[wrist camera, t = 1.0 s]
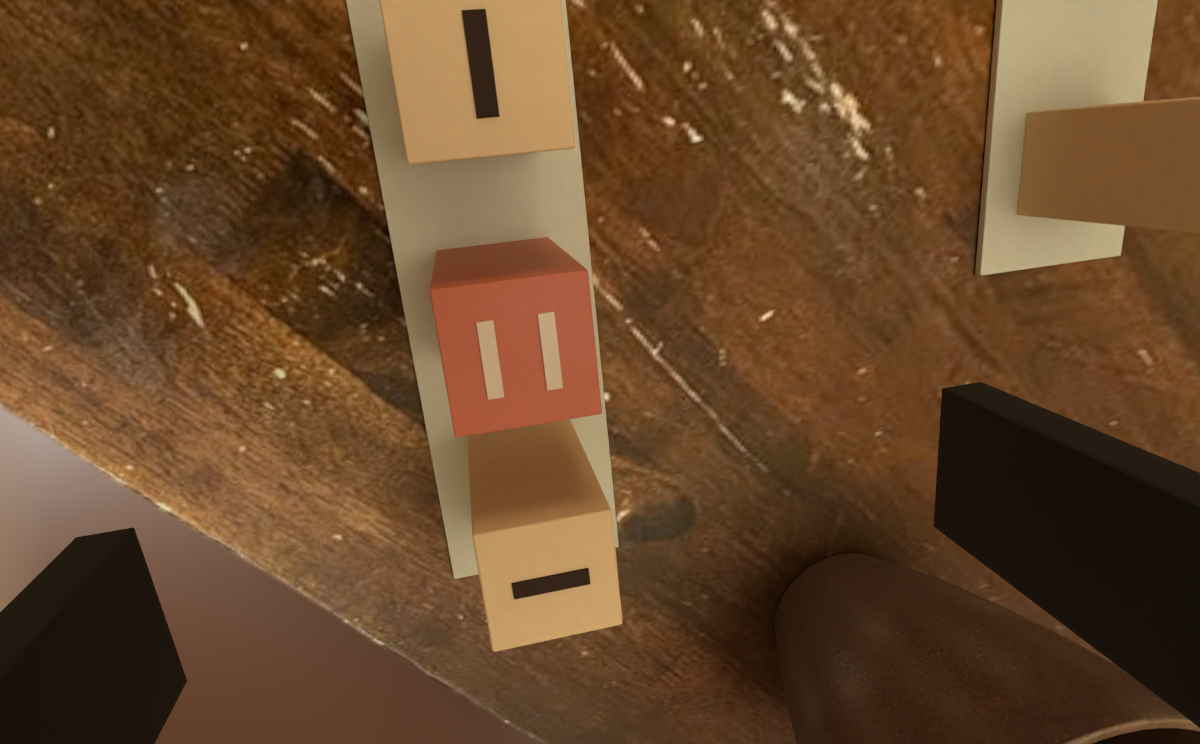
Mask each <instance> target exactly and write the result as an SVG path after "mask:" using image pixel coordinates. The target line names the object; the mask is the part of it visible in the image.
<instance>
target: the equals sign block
mask: <svg viewBox="0 0 1200 744" xmlns="http://www.w3.org/2000/svg"><path fill="white" fill-rule="evenodd" d="M430 297H431V302H432V308H433V314H434V320H435V325H436V331H437V337H438V343H439V348H440V354H441V360H442V366H443V372H444V377H445V383H446V389H447V395H448V400H449V406H450V412H451V418H452V423H453V429H454V435H455V437H456V438H458V437H464V436H470V435H476V434H482V433H488V432H495V431H501V430H507V429H513V428H519V427H525V426H531V425H537V424H543V423H550V422H556V421H562V420H568V419H574V418H580V417H586V416H592V415H598V414H602V407H601V396H600V386H599V376H598V366H597V356H596V346H595V336H594V326H593V316H592V306H591V296H590V286H589V276H588V270H587V269H586V268H585V267H583V266H582V265H581V264H580V263H579V262H577V261H576V260H575V259H574V258H573V257H571V256H570V255H569V254H568V253H566V252H565V251H564V250H563V249H562V248H560V247H559V246H558V245H557V244H556V243H554V242H553V241H552V240H551V239H550V238H548V237H544V238H536V239H527V240H519V241H511V242H502V243H494V244H485V245H477V246H469V247H460V248H452V249H443V250H437V252H436V257H435V263H434V269H433V275H432V280H431V286H430Z"/></svg>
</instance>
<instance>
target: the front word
mask: <svg viewBox="0 0 1200 744" xmlns="http://www.w3.org/2000/svg"><path fill="white" fill-rule="evenodd" d="M346 4H347V10H348V15H349V20H350V26H351V31H352V36H353V42H354V47H355V52H356V58H357V63H358V68H359V74H360V79H361V84H362V90H363V95H364V100H365V106H366V111H367V116H368V122H369V127H370V132H371V138H372V143H373V148H374V154H375V159H376V164H377V170H378V175H379V180H380V186H381V191H382V196H383V202H384V207H385V212H386V218H387V223H388V228H389V234H390V239H391V244H392V250H393V255H394V260H395V266H396V271H397V277H398V282H399V287H400V293H401V298H402V303H403V309H404V314H405V319H406V325H407V330H408V335H409V341H410V346H411V351H412V357H413V362H414V367H415V373H416V378H417V383H418V389H419V394H420V399H421V405H422V410H423V415H424V421H425V426H426V431H427V437H428V442H429V447H430V453H431V458H432V463H433V469H434V474H435V479H436V485H437V490H438V495H439V501H440V506H441V511H442V517H443V522H444V527H445V533H446V538H447V544H448V549H449V554H450V560H451V565H452V570H453V576H454V579H457V578H462V577H467V576H472V575H477V574H479V578H480V584H481V590H482V596H483V601H484V607H485V613H486V619H487V624H488V630H489V636H490V642H491V647H492V650H493V652H496V651H501V650H505V649H510V648H515V647H519V646H524V645H529V644H533V643H538V642H543V641H547V640H552V639H556V638H561V637H566V636H570V635H575V634H580V633H584V632H589V631H594V630H598V629H603V628H607V627H612V626H617V625H621V624H622V622H623V620H622V610H621V600H620V590H619V580H618V570H617V560H616V550H615V547H618V546H619V544H618V534H617V523H616V513H615V503H614V493H613V482H612V472H611V462H610V451H609V441H608V431H607V421H606V410H605V400H604V390H603V380H602V369H601V359H600V349H599V339H598V328H597V318H596V308H595V298H594V287H593V277H592V267H591V256H590V246H589V236H588V226H587V215H586V205H585V195H584V185H583V174H582V164H581V154H580V144H579V133H578V123H577V113H576V103H575V92H574V82H573V72H572V61H571V51H570V41H569V31H568V20H567V10H566V0H346ZM544 237H548V238H550V239H551V240H552V241H553V242H554V243H556V244H557V245H558V246H559V247H560V248H562V249H563V250H564V251H565V252H566V253H568V254H569V255H570V256H571V257H573V258H574V259H575V260H576V261H577V262H579V263H580V264H581V265H582V266H583V267H585V268H586V269H587V270H588V276H589V286H590V296H591V306H592V316H593V326H594V336H595V346H596V356H597V366H598V376H599V386H600V396H601V407H602V414H598V415H592V416H586V417H580V418H574V419H568V420H562V421H556V422H550V423H543V424H537V425H531V426H525V427H519V428H513V429H507V430H501V431H495V432H488V433H482V434H476V435H470V436H464V437H458V438H456V437H455V435H454V429H453V423H452V418H451V412H450V406H449V400H448V395H447V389H446V383H445V377H444V372H443V366H442V360H441V354H440V348H439V343H438V337H437V331H436V325H435V320H434V314H433V308H432V302H431V297H430V286H431V280H432V275H433V269H434V263H435V257H436V252H437V250H443V249H452V248H460V247H469V246H477V245H485V244H494V243H502V242H511V241H519V240H527V239H536V238H544Z"/></svg>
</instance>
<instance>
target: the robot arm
mask: <svg viewBox="0 0 1200 744" xmlns="http://www.w3.org/2000/svg"><path fill="white" fill-rule="evenodd" d="M934 527H936V528H937V529H938V530H939V531H941V532H942V533H943V534H945V535H946V536H947V537H949V538H950V539H951V540H953V541H954V542H955V543H957V544H958V545H959V546H961V547H962V548H963V549H965V550H966V551H967V552H968V553H970V554H971V555H972V556H974V557H975V558H976V559H978V560H979V561H980V562H982V563H983V564H984V565H986V566H987V567H988V568H990V569H991V570H992V571H994V572H995V573H996V574H997V575H999V576H1000V577H1001V578H1003V579H1004V580H1005V581H1007V582H1008V583H1009V584H1011V585H1012V586H1013V587H1015V588H1016V589H1017V590H1019V591H1020V592H1021V593H1023V594H1024V595H1025V596H1026V597H1028V598H1029V599H1030V600H1032V601H1033V602H1034V603H1036V604H1037V605H1038V606H1040V607H1041V608H1042V609H1044V610H1045V611H1046V612H1048V613H1049V614H1050V615H1052V616H1053V617H1054V618H1055V619H1057V620H1058V621H1059V622H1061V623H1062V624H1063V625H1065V626H1066V627H1067V628H1069V629H1070V630H1071V631H1073V632H1074V633H1075V634H1077V635H1078V636H1079V637H1081V638H1082V639H1083V640H1084V641H1086V642H1087V643H1088V644H1090V645H1091V646H1092V647H1094V648H1095V649H1096V650H1098V651H1099V652H1100V653H1102V654H1103V655H1104V656H1106V657H1107V658H1108V659H1110V660H1111V661H1112V662H1113V663H1115V664H1116V665H1117V666H1119V667H1120V668H1121V669H1123V670H1124V671H1125V672H1127V673H1128V674H1129V675H1131V676H1132V677H1133V678H1135V679H1136V680H1137V681H1139V682H1140V683H1141V684H1143V685H1144V686H1145V687H1146V688H1148V689H1149V690H1150V691H1152V692H1153V693H1154V694H1156V695H1157V696H1158V697H1160V698H1161V699H1162V700H1164V701H1165V702H1166V703H1168V704H1169V705H1170V706H1172V707H1173V708H1174V709H1175V710H1177V711H1178V712H1179V713H1181V714H1182V715H1183V716H1185V717H1186V718H1187V719H1189V720H1190V721H1191V722H1193V723H1194V724H1195V725H1197V726H1198V727H1199V728H1200V473H1198V472H1196V471H1193V470H1191V469H1188V468H1186V467H1184V466H1181V465H1179V464H1176V463H1174V462H1172V461H1169V460H1167V459H1164V458H1162V457H1160V456H1157V455H1155V454H1152V453H1150V452H1148V451H1145V450H1143V449H1140V448H1138V447H1136V446H1133V445H1131V444H1128V443H1126V442H1124V441H1121V440H1119V439H1116V438H1114V437H1112V436H1109V435H1107V434H1104V433H1102V432H1100V431H1097V430H1095V429H1092V428H1090V427H1088V426H1085V425H1083V424H1080V423H1078V422H1076V421H1073V420H1071V419H1068V418H1066V417H1064V416H1061V415H1059V414H1056V413H1054V412H1052V411H1049V410H1047V409H1044V408H1042V407H1040V406H1037V405H1035V404H1032V403H1030V402H1028V401H1025V400H1023V399H1020V398H1018V397H1016V396H1013V395H1011V394H1008V393H1006V392H1004V391H1001V390H999V389H996V388H994V387H992V386H989V385H987V384H984V383H982V382H978V383H973V384H967V385H961V386H955V387H949V388H943V389H942V401H941V417H940V433H939V450H938V466H937V482H936V499H935V515H934ZM186 682H187V680H186V677H185V674H184V671H183V668H182V665H181V662H180V659H179V656H178V654H177V651H176V648H175V645H174V642H173V639H172V636H171V633H170V631H169V627H168V625H167V622H166V619H165V616H164V613H163V610H162V608H161V604H160V602H159V599H158V596H157V593H156V590H155V587H154V584H153V581H152V579H151V575H150V573H149V570H148V567H147V564H146V561H145V558H144V555H143V552H142V549H141V547H140V544H139V541H138V538H137V535H136V533H135V529H134V528H129V529H123V530H117V531H111V532H105V533H100V534H94V535H88V536H82V537H77V538H75V539H74V540H73V541H72V542H71V543H70V544H69V545H68V546H67V547H66V548H65V549H64V550H63V551H62V552H61V553H60V554H59V555H58V556H57V557H56V558H55V559H54V560H53V561H52V562H51V563H50V564H49V565H48V566H47V567H46V568H45V569H44V570H43V571H42V572H41V573H40V574H39V575H38V576H37V577H36V578H35V579H34V580H33V581H32V582H31V583H30V584H29V585H28V586H27V587H26V588H25V589H24V590H23V591H22V592H21V593H20V594H18V596H17V597H15V598H14V600H12V601H11V603H9V604H8V605H7V606H6V607H5V608H4V609H3V610H2V611H1V612H0V744H154V743H155V741H156V740H157V738H158V736H159V734H160V732H161V730H162V728H163V726H164V724H165V722H166V720H167V718H168V716H169V715H170V713H171V711H172V709H173V707H174V705H175V703H176V701H177V699H178V697H179V695H180V693H181V691H182V689H183V687H184V685H185V684H186Z"/></svg>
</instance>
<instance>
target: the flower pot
mask: <svg viewBox="0 0 1200 744" xmlns="http://www.w3.org/2000/svg"><path fill="white" fill-rule="evenodd" d="M774 626H775V637H776V645H777V652H778V658H779V664H780V670H781V676H782V681H783V686H784V691H785V696H786V701H787V705H788V710H789V714H790V718H791V722H792V726H793V730H794V734H795V738H796V742H797V744H1200V728H1199V727H1198V726H1197V725H1195V724H1194V723H1193V722H1191V721H1190V720H1189V719H1187V718H1186V717H1185V716H1183V715H1182V714H1181V713H1179V712H1178V711H1177V710H1175V709H1174V708H1173V707H1172V706H1170V705H1169V704H1168V703H1166V702H1165V701H1164V700H1162V699H1161V698H1160V697H1158V696H1157V695H1156V694H1154V693H1153V692H1152V691H1150V690H1149V689H1148V688H1146V687H1145V686H1144V685H1143V684H1141V683H1140V682H1139V681H1137V680H1136V679H1135V678H1133V677H1132V676H1131V675H1129V674H1128V673H1127V672H1125V671H1124V670H1123V669H1121V668H1120V667H1118V666H1116V665H1115V664H1113V663H1111V662H1109V661H1108V660H1106V659H1104V658H1102V657H1100V656H1098V655H1097V654H1095V653H1093V652H1091V651H1089V650H1087V649H1085V648H1084V647H1082V646H1080V645H1078V644H1076V643H1074V642H1072V641H1070V640H1069V639H1067V638H1065V637H1063V636H1061V635H1059V634H1057V633H1055V632H1053V631H1051V630H1049V629H1047V628H1045V627H1043V626H1041V625H1039V624H1037V623H1035V622H1033V621H1031V620H1029V619H1027V618H1025V617H1023V616H1021V615H1018V614H1016V613H1014V612H1012V611H1010V610H1008V609H1006V608H1004V607H1002V606H1000V605H997V604H995V603H993V602H991V601H989V600H987V599H984V598H982V597H980V596H978V595H975V594H973V593H971V592H968V591H966V590H964V589H961V588H959V587H957V586H954V585H952V584H949V583H947V582H944V581H942V580H939V579H937V578H934V577H931V576H929V575H926V574H923V573H921V572H918V571H915V570H913V569H910V568H906V567H903V566H900V565H897V564H894V563H891V562H888V561H885V560H882V559H878V558H875V557H871V556H868V555H864V554H859V553H845V554H838V555H834V556H831V557H828V558H825V559H823V560H821V561H819V562H817V563H815V564H813V565H812V566H810V567H809V568H807V569H806V570H805V571H804V572H802V573H801V574H800V575H799V576H798V577H797V578H796V579H795V580H794V581H793V582H792V583H791V584H790V586H789V587H788V588H787V590H786V592H785V593H784V595H783V596H782V598H781V600H780V603H779V605H778V607H777V611H776V616H775V624H774Z"/></svg>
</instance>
